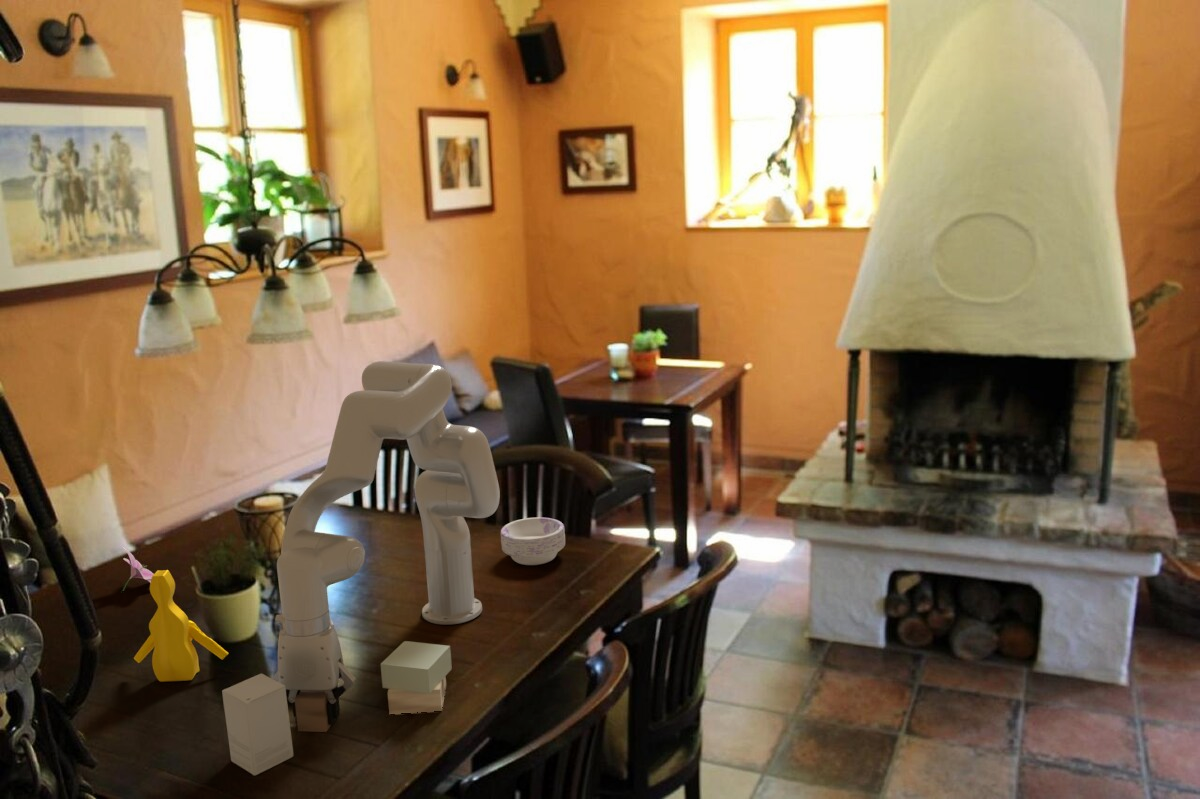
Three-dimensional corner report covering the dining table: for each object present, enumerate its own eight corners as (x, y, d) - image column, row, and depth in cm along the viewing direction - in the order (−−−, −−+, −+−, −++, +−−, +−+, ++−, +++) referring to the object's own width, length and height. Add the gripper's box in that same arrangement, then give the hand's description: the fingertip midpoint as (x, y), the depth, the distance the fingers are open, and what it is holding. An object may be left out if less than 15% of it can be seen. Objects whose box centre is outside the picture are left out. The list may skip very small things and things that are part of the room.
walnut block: (309, 715, 181) (305, 684, 180) (337, 716, 181) (333, 684, 179) (298, 731, 176) (294, 698, 175) (326, 731, 176) (323, 699, 174)
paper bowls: (489, 559, 250) (487, 527, 248) (538, 542, 259) (537, 512, 258) (529, 576, 239) (527, 543, 237) (579, 557, 248) (577, 526, 247)
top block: (406, 663, 190) (404, 640, 189) (451, 668, 187) (450, 645, 186) (382, 687, 181) (380, 664, 180) (429, 693, 179) (427, 669, 178)
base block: (396, 690, 189) (394, 668, 188) (446, 687, 190) (444, 664, 189) (389, 716, 180) (387, 692, 179) (441, 713, 181) (440, 689, 180)
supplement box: (295, 756, 169) (287, 685, 166) (253, 777, 163) (244, 704, 160) (270, 741, 173) (262, 671, 171) (229, 761, 168) (220, 689, 165)
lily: (141, 606, 232) (159, 566, 233) (92, 587, 232) (110, 547, 233) (162, 601, 244) (178, 562, 245) (115, 583, 244) (132, 544, 245)
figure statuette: (233, 665, 201) (220, 557, 196) (220, 685, 193) (205, 573, 188) (141, 669, 201) (125, 561, 196) (123, 689, 193) (106, 578, 188)
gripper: (248, 630, 172) (260, 730, 176) (348, 632, 170) (358, 733, 174) (267, 611, 179) (278, 707, 183) (363, 613, 177) (372, 710, 181)
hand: (317, 719), depth 178 cm, fingers closed on walnut block, 5 cm apart
